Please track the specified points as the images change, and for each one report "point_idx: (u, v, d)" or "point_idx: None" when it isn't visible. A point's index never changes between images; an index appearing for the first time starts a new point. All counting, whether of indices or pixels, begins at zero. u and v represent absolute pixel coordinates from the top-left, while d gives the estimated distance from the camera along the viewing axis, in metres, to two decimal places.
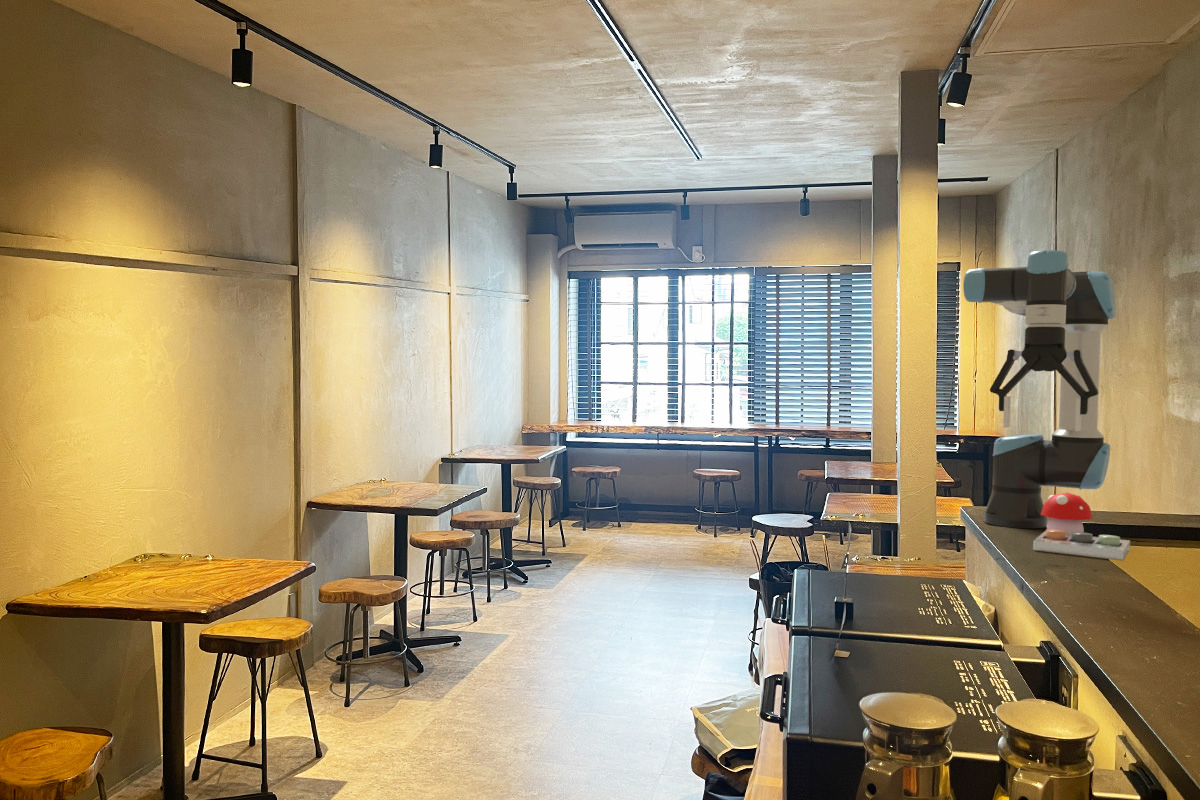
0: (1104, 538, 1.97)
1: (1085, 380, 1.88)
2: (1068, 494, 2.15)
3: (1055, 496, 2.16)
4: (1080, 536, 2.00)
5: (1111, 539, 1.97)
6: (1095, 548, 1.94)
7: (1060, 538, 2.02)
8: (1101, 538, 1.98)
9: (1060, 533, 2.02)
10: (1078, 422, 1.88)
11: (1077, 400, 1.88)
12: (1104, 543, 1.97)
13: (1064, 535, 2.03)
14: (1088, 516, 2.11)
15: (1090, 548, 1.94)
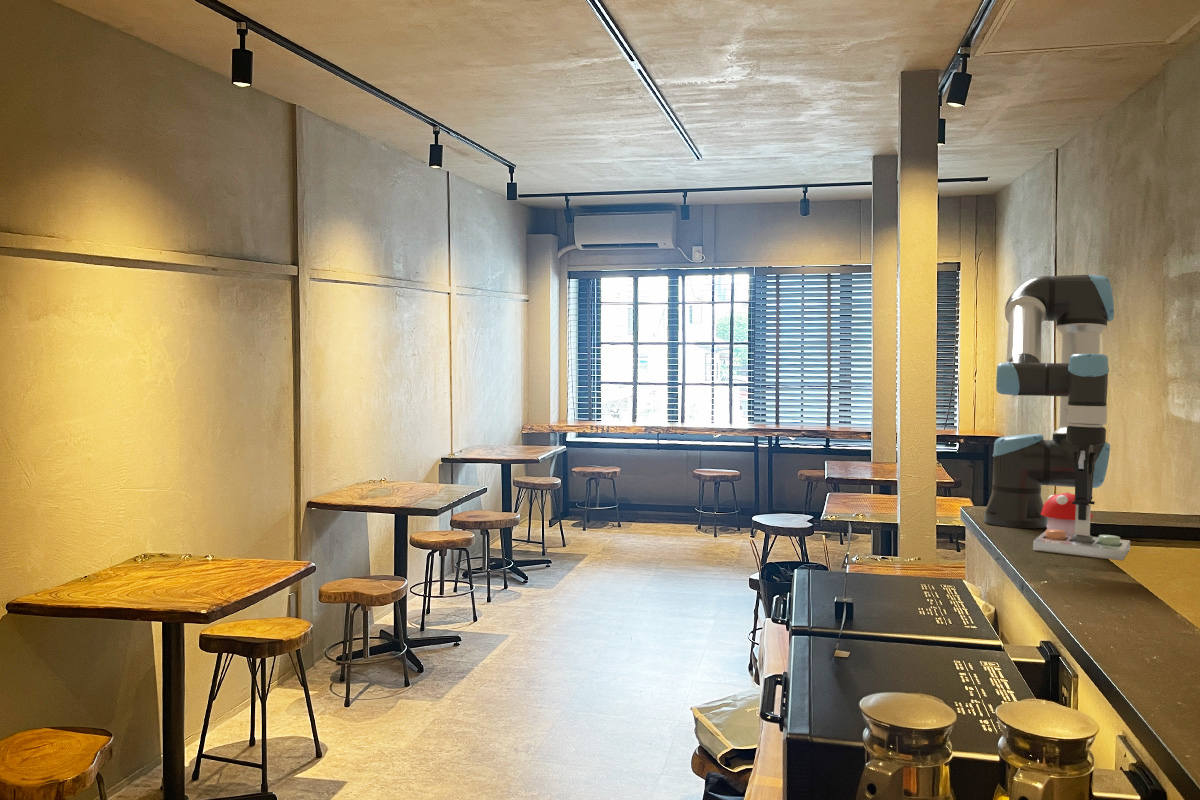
0: (1104, 538, 1.97)
1: None
2: (1068, 494, 2.15)
3: (1055, 496, 2.16)
4: (1080, 538, 2.00)
5: (1111, 539, 1.97)
6: (1095, 548, 1.94)
7: (1060, 538, 2.02)
8: (1101, 538, 1.98)
9: (1060, 533, 2.02)
10: (1075, 526, 2.02)
11: (1076, 505, 2.02)
12: (1104, 543, 1.97)
13: (1064, 535, 2.03)
14: None
15: (1090, 548, 1.94)
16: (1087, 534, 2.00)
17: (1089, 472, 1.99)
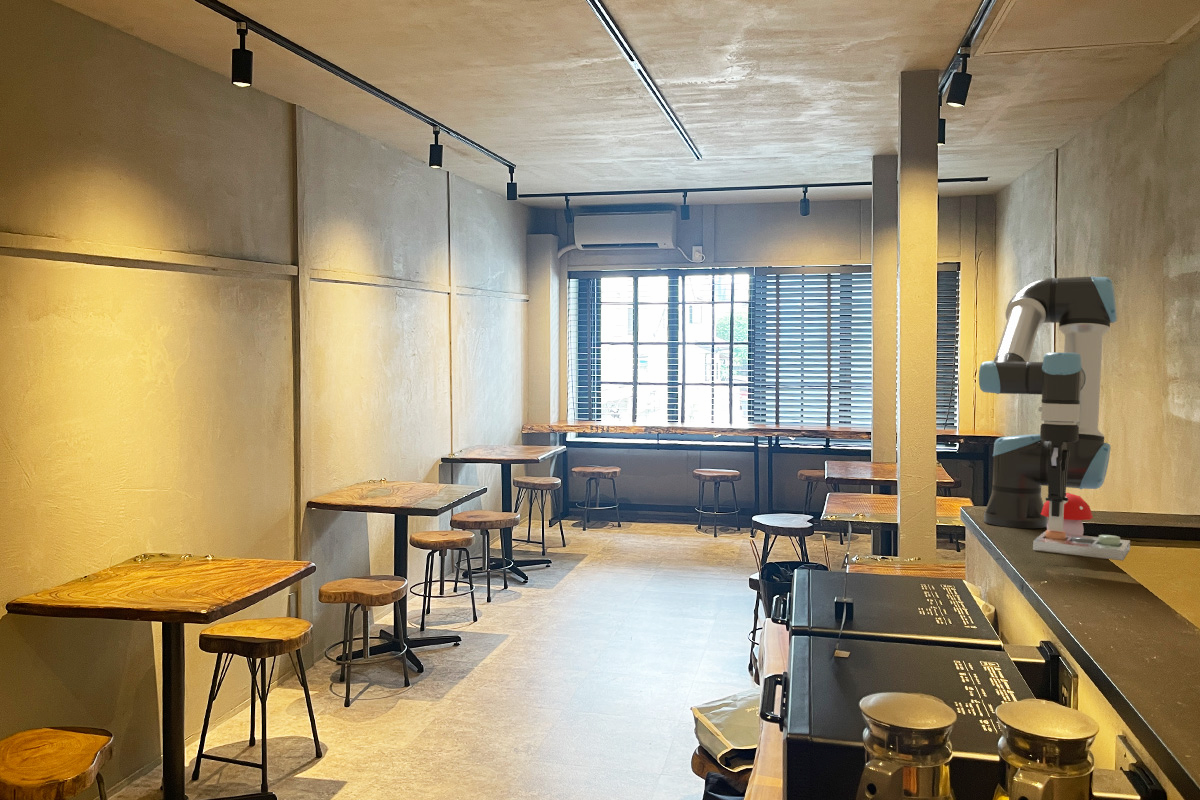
0: (1104, 538, 1.97)
1: None
2: (1068, 494, 2.15)
3: None
4: (1080, 541, 2.00)
5: (1111, 539, 1.97)
6: (1095, 548, 1.94)
7: (1060, 539, 2.02)
8: (1101, 538, 1.98)
9: (1060, 533, 2.02)
10: (1049, 522, 2.04)
11: None
12: (1104, 543, 1.97)
13: (1064, 536, 2.03)
14: (1088, 516, 2.11)
15: (1090, 548, 1.94)
16: (1060, 530, 2.03)
17: (1062, 469, 2.02)
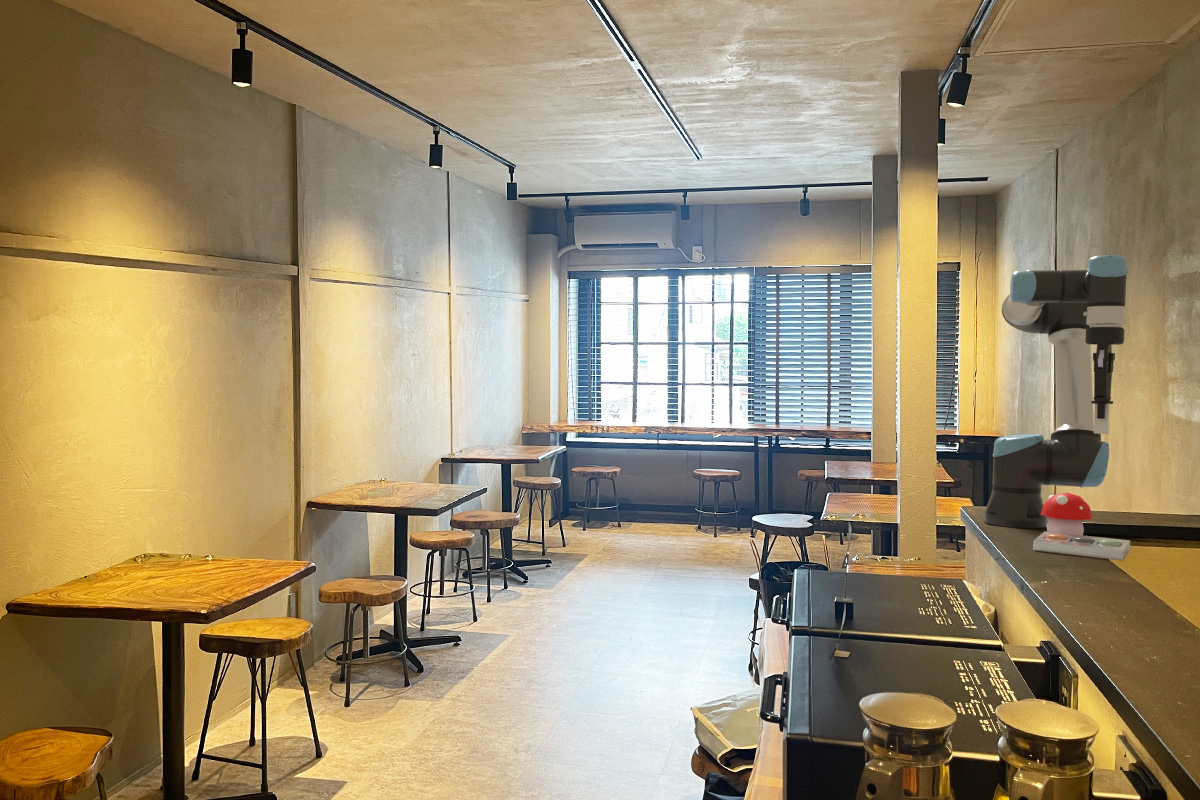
0: (1104, 543, 1.97)
1: None
2: (1068, 494, 2.15)
3: (1055, 496, 2.16)
4: (1080, 541, 2.00)
5: (1111, 544, 1.97)
6: (1095, 548, 1.94)
7: None
8: (1101, 543, 1.98)
9: (1060, 537, 2.02)
10: (1094, 425, 2.06)
11: (1095, 405, 2.06)
12: None
13: (1064, 539, 2.03)
14: (1088, 516, 2.11)
15: (1090, 548, 1.94)
16: (1106, 432, 2.05)
17: (1108, 371, 2.03)
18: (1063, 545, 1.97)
